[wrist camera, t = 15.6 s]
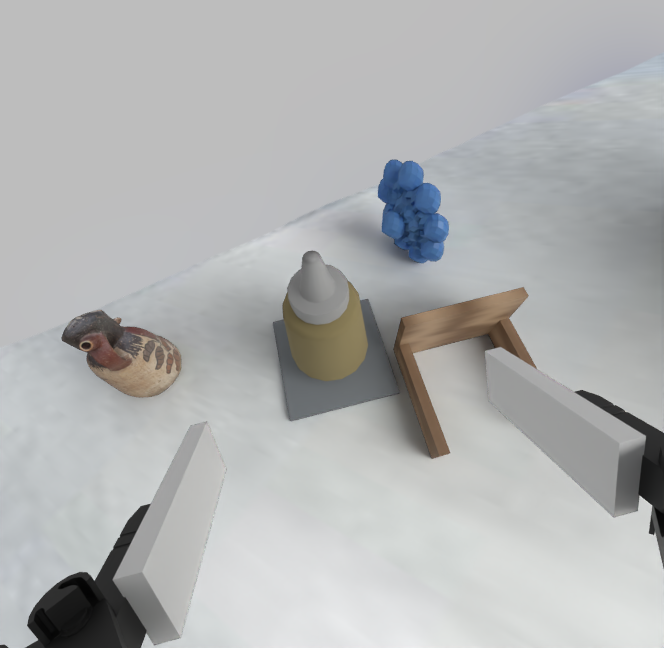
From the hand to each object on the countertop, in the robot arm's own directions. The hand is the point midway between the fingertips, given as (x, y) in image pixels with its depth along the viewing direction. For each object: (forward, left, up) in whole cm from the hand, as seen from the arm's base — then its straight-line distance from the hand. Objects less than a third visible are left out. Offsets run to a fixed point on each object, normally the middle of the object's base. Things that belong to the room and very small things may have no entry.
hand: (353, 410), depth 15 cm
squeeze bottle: (0, -10, -20) cm, 22 cm away
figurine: (+21, -14, -20) cm, 33 cm away
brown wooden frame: (-13, -3, -20) cm, 24 cm away
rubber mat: (0, -10, -20) cm, 23 cm away
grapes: (-12, -23, -20) cm, 33 cm away
